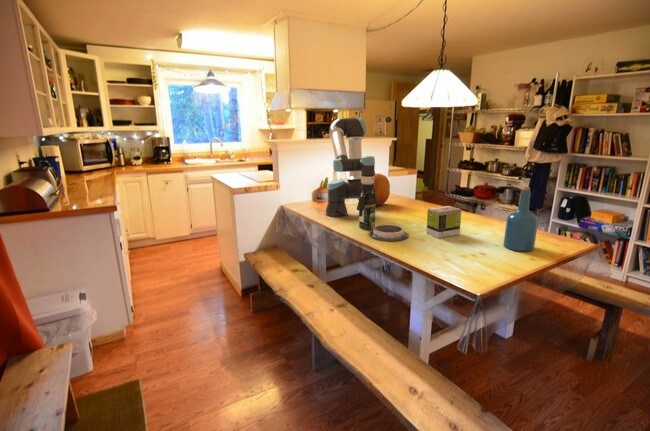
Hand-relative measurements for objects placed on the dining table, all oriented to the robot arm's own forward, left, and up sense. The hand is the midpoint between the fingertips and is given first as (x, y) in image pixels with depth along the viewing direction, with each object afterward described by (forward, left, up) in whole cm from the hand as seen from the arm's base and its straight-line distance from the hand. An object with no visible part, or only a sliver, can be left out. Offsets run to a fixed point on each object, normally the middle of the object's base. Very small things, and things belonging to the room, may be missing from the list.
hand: (367, 218), depth 199 cm
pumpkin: (-54, -26, -6) cm, 60 cm away
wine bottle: (-11, +78, -6) cm, 79 cm away
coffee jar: (0, 0, -6) cm, 6 cm away
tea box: (-12, +41, -6) cm, 43 cm away
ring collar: (+6, +17, -5) cm, 19 cm away
